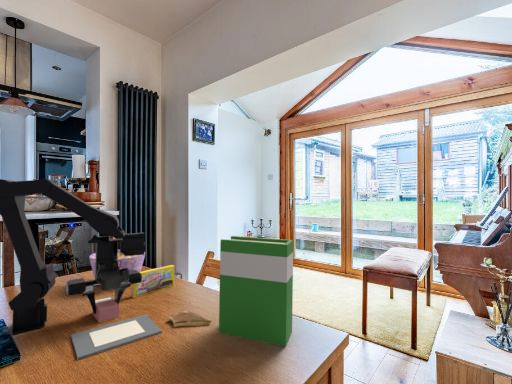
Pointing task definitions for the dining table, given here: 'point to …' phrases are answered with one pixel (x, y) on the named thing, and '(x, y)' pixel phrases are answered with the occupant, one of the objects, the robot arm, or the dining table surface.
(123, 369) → the dining table surface
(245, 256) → the green cereal box
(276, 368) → the dining table surface
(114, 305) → the pink and white block
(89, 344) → the mat
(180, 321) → the shard
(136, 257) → the bowl of food
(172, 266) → the candy box
